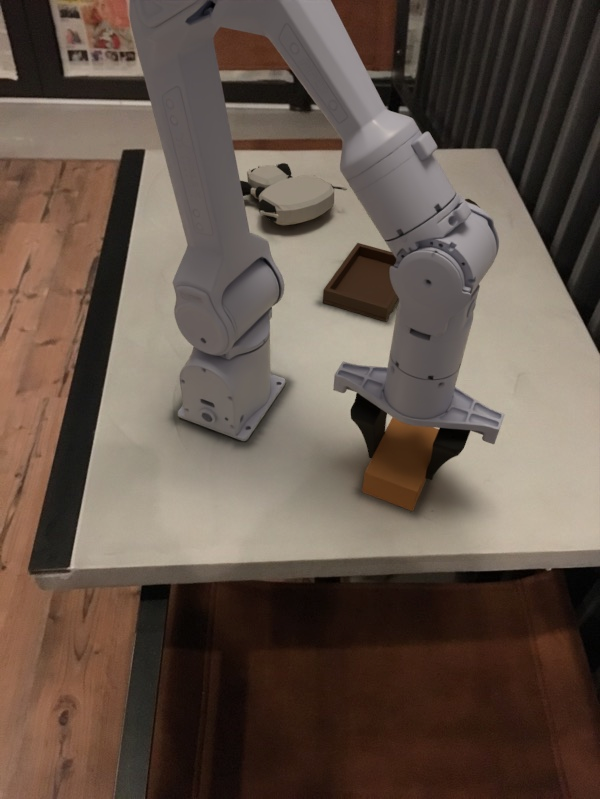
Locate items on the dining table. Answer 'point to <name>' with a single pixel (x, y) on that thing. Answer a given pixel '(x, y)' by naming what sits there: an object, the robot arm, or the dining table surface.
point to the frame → (364, 283)
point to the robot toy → (288, 194)
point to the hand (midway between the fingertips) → (403, 461)
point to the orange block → (400, 464)
